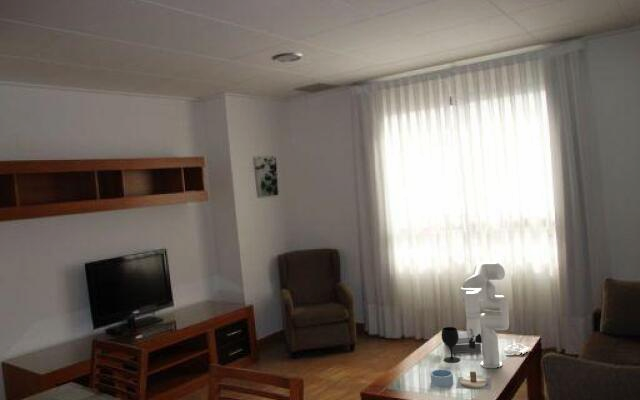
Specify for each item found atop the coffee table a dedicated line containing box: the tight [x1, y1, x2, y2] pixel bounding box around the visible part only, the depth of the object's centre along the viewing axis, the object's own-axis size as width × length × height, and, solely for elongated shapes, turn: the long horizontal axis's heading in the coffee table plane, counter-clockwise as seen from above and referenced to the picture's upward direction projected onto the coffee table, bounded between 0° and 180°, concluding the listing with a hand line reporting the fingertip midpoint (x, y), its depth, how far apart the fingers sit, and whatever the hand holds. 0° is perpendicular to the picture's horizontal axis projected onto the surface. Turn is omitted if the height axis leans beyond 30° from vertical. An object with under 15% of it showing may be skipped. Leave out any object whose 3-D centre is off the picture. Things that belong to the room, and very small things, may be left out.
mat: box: [456, 376, 492, 391], centre depth 292 cm, size 16×18×1 cm
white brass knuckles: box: [503, 342, 532, 355], centre depth 338 cm, size 3×18×15 cm
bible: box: [448, 331, 482, 355], centre depth 355 cm, size 23×27×10 cm
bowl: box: [430, 368, 454, 388], centre depth 297 cm, size 12×12×6 cm
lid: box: [461, 370, 487, 388], centre depth 292 cm, size 14×14×6 cm
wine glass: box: [441, 326, 461, 364], centre depth 333 cm, size 10×10×20 cm
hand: (475, 345), depth 286 cm, fingers open, 9 cm apart
